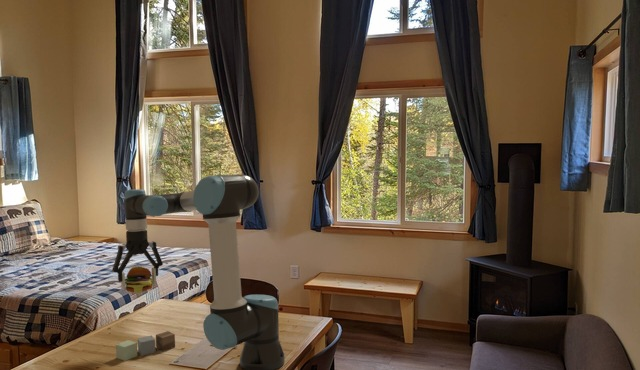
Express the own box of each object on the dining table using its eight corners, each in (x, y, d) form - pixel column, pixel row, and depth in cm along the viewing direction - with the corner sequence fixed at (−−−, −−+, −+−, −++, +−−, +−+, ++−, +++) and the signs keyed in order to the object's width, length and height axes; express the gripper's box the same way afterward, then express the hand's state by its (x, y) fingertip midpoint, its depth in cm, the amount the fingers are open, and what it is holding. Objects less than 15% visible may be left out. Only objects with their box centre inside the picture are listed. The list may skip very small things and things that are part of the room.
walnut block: (175, 347, 181) (174, 334, 181) (162, 351, 177) (162, 337, 177) (168, 343, 184) (167, 331, 184) (156, 347, 181) (155, 334, 181)
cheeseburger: (123, 295, 177) (122, 267, 178) (126, 294, 187) (125, 268, 189) (152, 292, 179) (151, 265, 181) (154, 291, 189) (153, 266, 191)
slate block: (155, 352, 176) (154, 339, 176) (141, 356, 173) (140, 342, 173) (152, 348, 180) (151, 335, 180) (138, 351, 178) (137, 338, 177)
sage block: (137, 356, 173) (136, 342, 173) (125, 361, 169) (124, 347, 169) (128, 353, 176) (128, 340, 176) (116, 358, 172) (115, 344, 172)
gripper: (163, 226, 193) (165, 280, 194) (101, 232, 179) (104, 290, 180) (170, 227, 187) (172, 283, 188) (106, 234, 173) (109, 294, 174)
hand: (139, 287), depth 184 cm, fingers closed on cheeseburger, 11 cm apart
